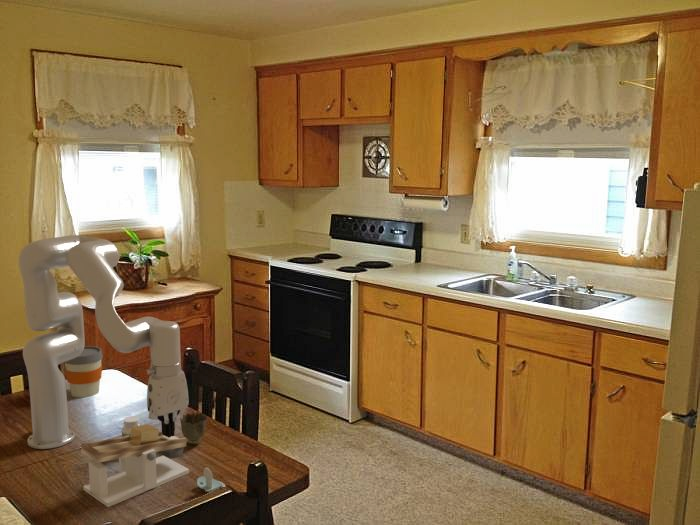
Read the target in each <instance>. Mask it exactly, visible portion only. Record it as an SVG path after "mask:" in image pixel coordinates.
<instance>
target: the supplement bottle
mask: <svg viewBox="0 0 700 525" xmlns="http://www.w3.org/2000/svg"><path fill="white" fill-rule="evenodd" d="M139 425H140V418H139V417H138V416H128V417H125V418H124V420H123V427H121V437H125V436H130V431H131V427H132V426H139Z"/></svg>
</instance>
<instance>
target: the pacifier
mask: <svg viewBox="0 0 700 525" xmlns="http://www.w3.org/2000/svg"><path fill="white" fill-rule="evenodd" d="M196 485H197V487H199V488H200V489H201V490H204V492H207V493H209V492H211V491H213V490H215V489H217V488H218V489H220V488H222V487H226V484H225V483H223V482H222V481H219V480H217V479H215V478H214V474H213V472H212V471H211V469H210V468H209V467H204V468H203V475H202V476H200V477H198V478H197V479H196Z"/></svg>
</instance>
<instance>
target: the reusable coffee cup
mask: <svg viewBox="0 0 700 525" xmlns="http://www.w3.org/2000/svg"><path fill="white" fill-rule="evenodd" d="M102 352H103V350H102V348H100V347H99V346H91V345H89V346H88V345H84V350H83V352H82V353H81V354H80V355H79V356H78V357H76V358H74V359H71V360H69V361H66V362H63V363H64V364H65V365H64V366H65V367H64V371H65V378H66V381H67V382H68V386H69V390H70V394H71V396H72V397H74V398H88V397H93V396H95V395H98V394H99V392H100V381H101V380H102V374H103V364H102V359H103V358H104V357H103V353H102ZM67 382H66V383H67Z"/></svg>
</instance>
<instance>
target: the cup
mask: <svg viewBox="0 0 700 525" xmlns="http://www.w3.org/2000/svg"><path fill="white" fill-rule="evenodd" d="M207 418H208V417H207V414H205V413H202V412H196V413H195V412H192V414H191V413H190V412H187V413H186V414H183V415H182V417H180V418H179V420H180V427H181V431H182V432H181V433H182V434H183V438H185V437H186V438H187V443H188V445H191V446H195V445H199V444H200V443H201V441H202V440H201V439H202V438H203V436H204V435H205V433H206V429H207V428H206V427H207Z"/></svg>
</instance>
